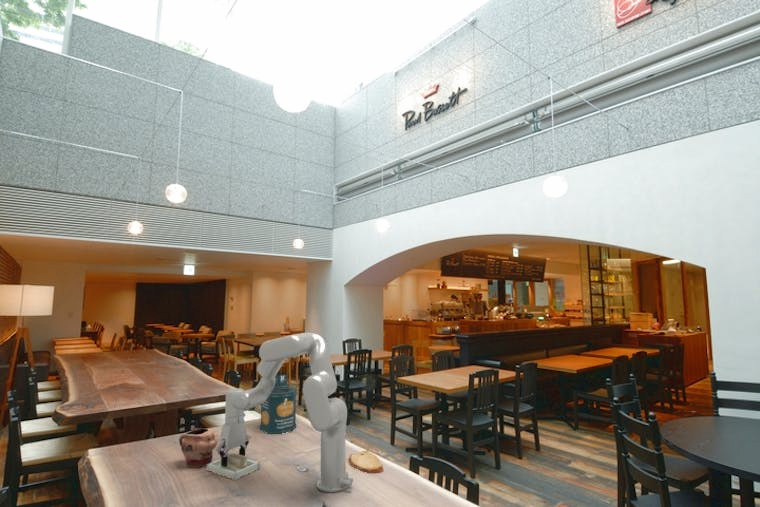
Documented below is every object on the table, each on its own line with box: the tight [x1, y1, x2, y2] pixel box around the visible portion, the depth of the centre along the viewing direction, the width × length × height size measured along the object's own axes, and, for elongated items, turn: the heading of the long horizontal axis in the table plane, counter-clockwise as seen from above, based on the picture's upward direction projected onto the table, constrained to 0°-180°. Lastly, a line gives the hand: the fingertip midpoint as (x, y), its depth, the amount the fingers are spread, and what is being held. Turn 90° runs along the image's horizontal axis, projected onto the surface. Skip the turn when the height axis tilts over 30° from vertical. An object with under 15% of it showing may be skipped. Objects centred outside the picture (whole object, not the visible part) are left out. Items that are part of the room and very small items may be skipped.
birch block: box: [220, 451, 248, 472], centre depth 165 cm, size 4×12×5 cm, turn 58°
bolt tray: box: [206, 458, 261, 479], centre depth 165 cm, size 18×12×2 cm
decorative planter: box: [178, 428, 218, 468], centre depth 173 cm, size 20×12×14 cm, turn 76°
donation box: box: [259, 374, 297, 435], centre depth 219 cm, size 16×16×28 cm
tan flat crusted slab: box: [348, 449, 385, 474], centre depth 168 cm, size 18×18×4 cm
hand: (233, 462), depth 165 cm, fingers open, 8 cm apart
